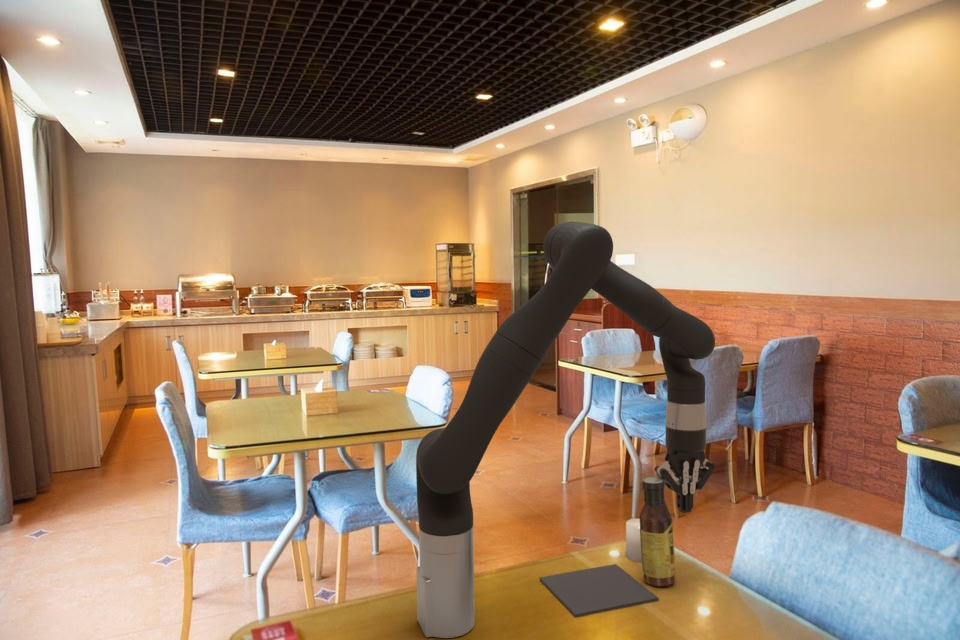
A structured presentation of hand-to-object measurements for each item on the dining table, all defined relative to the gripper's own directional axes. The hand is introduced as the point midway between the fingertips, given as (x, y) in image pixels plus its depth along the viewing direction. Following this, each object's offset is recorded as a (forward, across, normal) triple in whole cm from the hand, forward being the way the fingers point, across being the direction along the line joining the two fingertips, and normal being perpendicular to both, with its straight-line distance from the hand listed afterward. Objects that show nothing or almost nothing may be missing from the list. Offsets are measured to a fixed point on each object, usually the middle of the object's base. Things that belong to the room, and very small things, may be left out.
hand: (684, 511), depth 128 cm
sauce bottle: (+13, -6, 0) cm, 14 cm away
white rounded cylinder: (+13, -3, +11) cm, 17 cm away
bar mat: (+13, -19, +1) cm, 23 cm away
